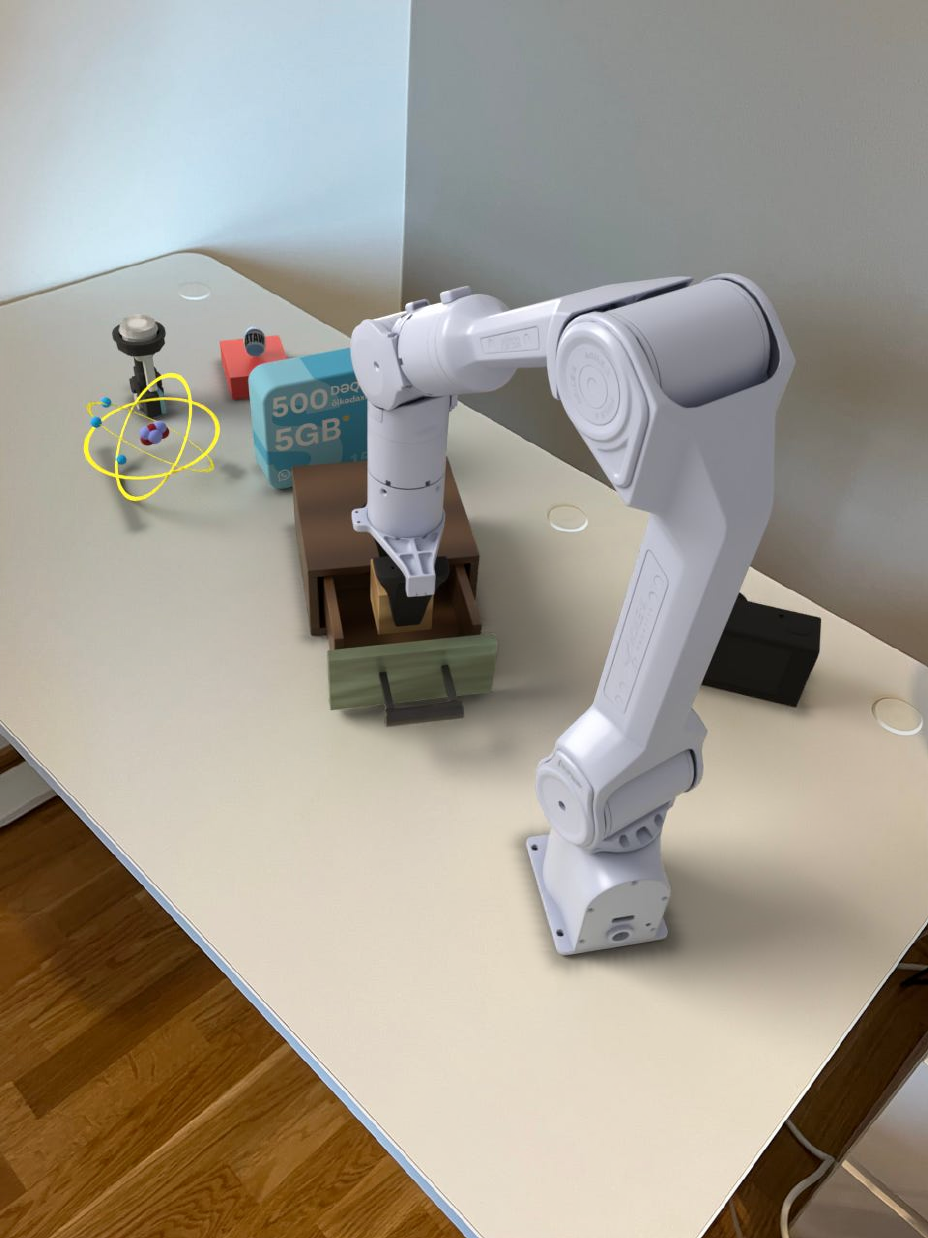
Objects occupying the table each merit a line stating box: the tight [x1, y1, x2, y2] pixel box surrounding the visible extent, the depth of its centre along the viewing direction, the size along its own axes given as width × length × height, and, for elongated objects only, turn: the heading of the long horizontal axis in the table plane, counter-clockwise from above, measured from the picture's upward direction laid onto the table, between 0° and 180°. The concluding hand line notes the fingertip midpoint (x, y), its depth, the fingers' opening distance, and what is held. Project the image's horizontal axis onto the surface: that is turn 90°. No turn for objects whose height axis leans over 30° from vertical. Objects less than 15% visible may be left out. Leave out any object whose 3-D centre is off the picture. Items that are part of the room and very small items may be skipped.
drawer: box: [320, 564, 498, 728], centre depth 88 cm, size 19×13×6 cm
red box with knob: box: [219, 326, 288, 401], centre depth 120 cm, size 8×7×6 cm
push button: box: [111, 314, 167, 419], centre depth 114 cm, size 7×5×10 cm
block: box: [371, 559, 434, 635], centre depth 87 cm, size 4×4×4 cm
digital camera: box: [701, 591, 822, 708], centre depth 91 cm, size 10×5×7 cm, turn 74°
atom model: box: [83, 372, 221, 502], centre depth 104 cm, size 14×15×14 cm
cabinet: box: [291, 454, 481, 636], centre depth 97 cm, size 15×15×8 cm
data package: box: [248, 347, 368, 490], centre depth 107 cm, size 12×4×12 cm, turn 116°
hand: (402, 601), depth 87 cm, fingers closed on block, 4 cm apart
